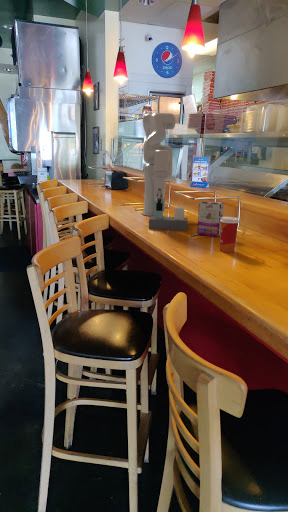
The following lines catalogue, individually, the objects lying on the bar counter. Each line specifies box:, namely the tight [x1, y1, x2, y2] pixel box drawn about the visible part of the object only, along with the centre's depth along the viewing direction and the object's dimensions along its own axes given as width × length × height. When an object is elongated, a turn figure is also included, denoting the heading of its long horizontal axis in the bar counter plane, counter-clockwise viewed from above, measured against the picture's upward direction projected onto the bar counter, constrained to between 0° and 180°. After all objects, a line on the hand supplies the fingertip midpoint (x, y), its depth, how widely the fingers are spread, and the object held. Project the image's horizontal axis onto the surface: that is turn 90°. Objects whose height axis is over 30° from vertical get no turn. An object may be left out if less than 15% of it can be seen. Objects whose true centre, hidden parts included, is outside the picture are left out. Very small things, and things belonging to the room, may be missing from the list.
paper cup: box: [219, 216, 240, 254], centre depth 153 cm, size 8×8×14 cm
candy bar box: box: [197, 200, 224, 238], centre depth 181 cm, size 11×5×16 cm, turn 62°
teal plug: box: [154, 199, 166, 219], centre depth 195 cm, size 5×5×12 cm
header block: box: [148, 206, 189, 231], centre depth 195 cm, size 10×20×11 cm, turn 83°
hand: (159, 209), depth 195 cm, fingers closed on teal plug, 5 cm apart
